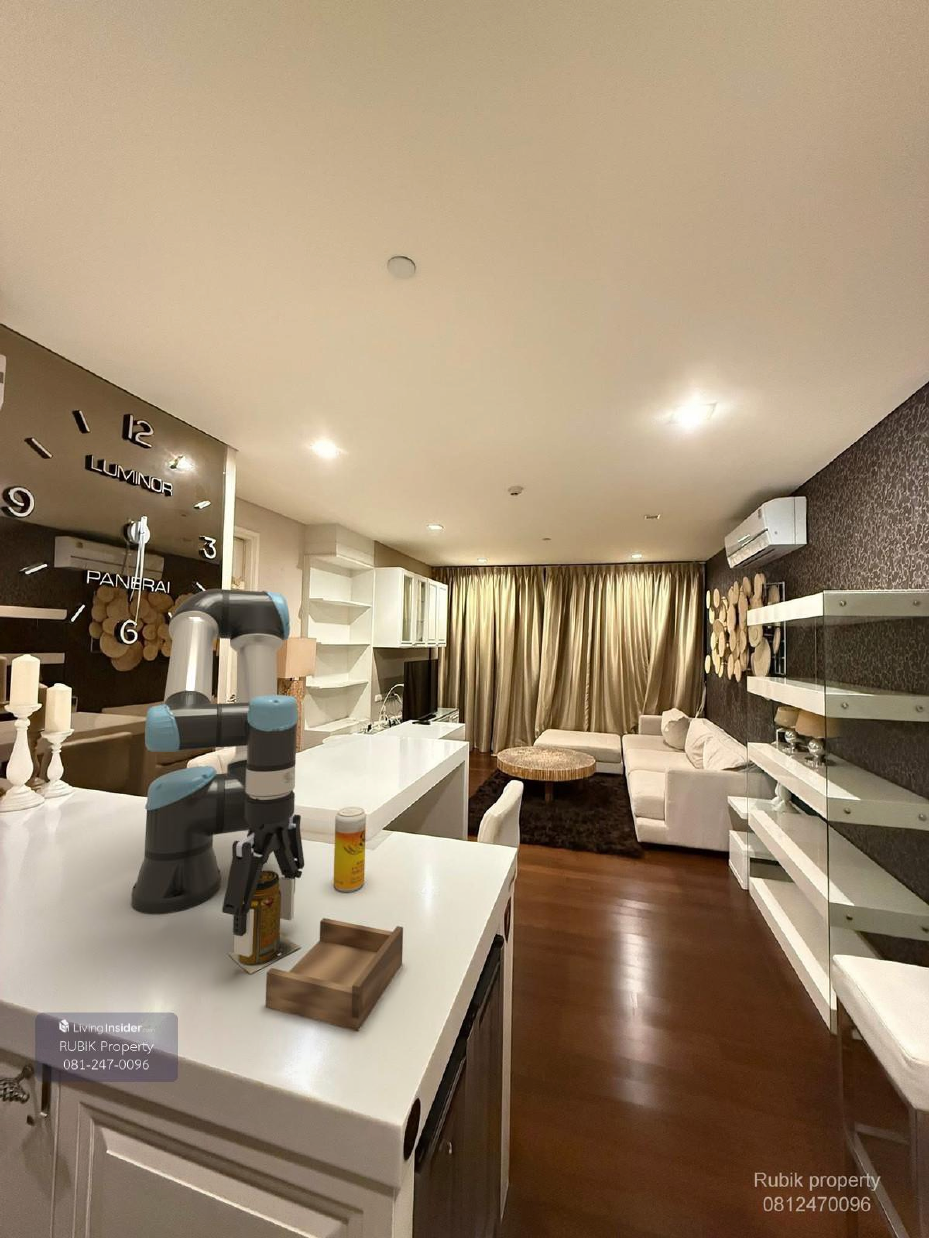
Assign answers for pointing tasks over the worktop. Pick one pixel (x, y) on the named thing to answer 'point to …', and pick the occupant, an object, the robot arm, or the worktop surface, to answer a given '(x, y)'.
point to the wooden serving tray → (338, 974)
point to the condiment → (266, 926)
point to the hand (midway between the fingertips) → (265, 934)
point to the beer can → (349, 849)
